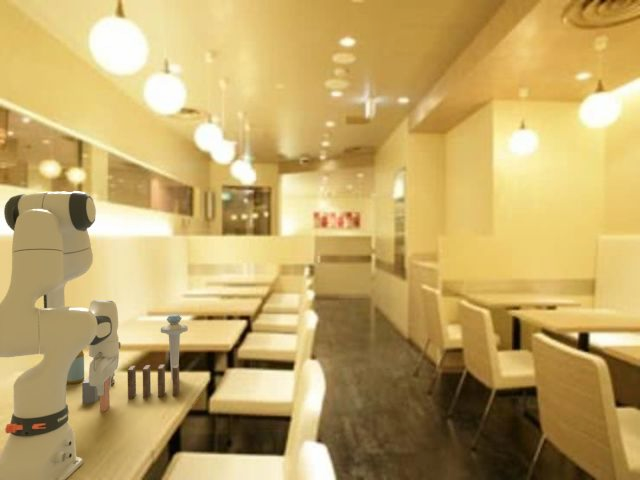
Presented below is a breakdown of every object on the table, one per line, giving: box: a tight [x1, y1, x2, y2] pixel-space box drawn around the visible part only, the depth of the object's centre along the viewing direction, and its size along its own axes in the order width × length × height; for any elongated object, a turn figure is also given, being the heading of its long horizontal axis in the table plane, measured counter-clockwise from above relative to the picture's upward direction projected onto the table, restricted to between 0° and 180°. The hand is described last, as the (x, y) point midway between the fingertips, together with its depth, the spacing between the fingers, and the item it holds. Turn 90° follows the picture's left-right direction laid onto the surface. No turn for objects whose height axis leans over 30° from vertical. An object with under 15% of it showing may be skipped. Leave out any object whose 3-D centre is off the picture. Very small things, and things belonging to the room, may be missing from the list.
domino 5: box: [172, 363, 180, 397], centre depth 171 cm, size 2×5×10 cm, turn 9°
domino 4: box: [157, 364, 166, 398], centre depth 170 cm, size 2×5×10 cm, turn 9°
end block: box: [81, 376, 100, 404], centre depth 166 cm, size 10×4×7 cm, turn 9°
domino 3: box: [142, 364, 152, 399], centre depth 169 cm, size 2×5×10 cm, turn 9°
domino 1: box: [99, 378, 111, 412], centre depth 157 cm, size 2×5×10 cm, turn 9°
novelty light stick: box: [160, 314, 188, 380], centre depth 188 cm, size 10×10×25 cm
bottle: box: [67, 349, 85, 385], centre depth 185 cm, size 7×7×15 cm
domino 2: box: [127, 365, 137, 400], centre depth 168 cm, size 2×5×10 cm, turn 9°
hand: (104, 391), depth 157 cm, fingers open, 5 cm apart
